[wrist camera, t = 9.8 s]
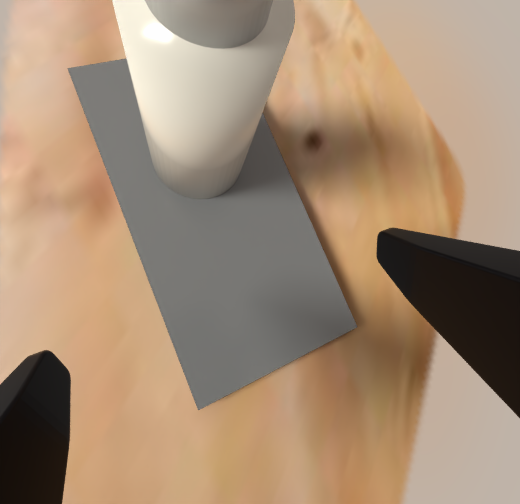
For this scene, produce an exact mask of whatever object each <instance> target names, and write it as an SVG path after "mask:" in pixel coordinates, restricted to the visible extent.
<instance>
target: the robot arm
mask: <svg viewBox="0 0 520 504" xmlns="http://www.w3.org/2000/svg"><path fill="white" fill-rule="evenodd" d="M377 259H378V262H379V263H380V265H381V266H382V267H383V269H384V270H385V271H386V273H387V274H388V275H389V276H390V278H391V279H392V280H393V282H394V283H395V284H396V286H397V287H398V288H399V289H400V291H401V292H402V293H403V295H404V296H405V297H406V298H407V299H408V301H409V302H410V303H411V304H412V305H413V306H414V307H415V309H416V310H417V311H418V312H419V313H420V314H421V315H422V316H423V317H424V318H425V319H426V320H427V321H428V322H429V323H430V324H431V325H432V326H433V327H434V329H435V330H436V331H437V332H438V333H439V334H440V335H441V336H442V337H443V338H444V339H445V340H446V341H447V342H448V343H449V344H450V345H451V346H452V347H453V348H454V350H455V351H457V353H458V354H459V355H460V356H461V357H462V358H463V359H464V360H465V361H466V362H467V363H468V364H469V365H470V366H471V367H472V368H473V370H474V371H475V372H476V373H477V374H478V375H479V376H480V377H481V378H482V379H483V380H484V381H485V382H486V383H487V384H488V385H489V386H490V387H491V388H492V389H493V391H494V392H496V394H497V395H498V396H499V397H500V398H501V399H502V400H503V401H504V402H505V403H506V404H507V405H508V406H509V407H510V408H511V409H512V410H513V412H514V413H515V414H516V415H517V416H518V417H519V418H520V251H517V250H511V249H506V248H500V247H495V246H490V245H484V244H479V243H473V242H468V241H463V240H457V239H452V238H447V237H441V236H436V235H430V234H425V233H420V232H414V231H409V230H403V229H398V228H389V229H386V230H383V231H381V232H380V233H379V234H378V237H377ZM70 389H71V378H70V373H69V371H68V369H67V368H66V367H65V366H64V365H63V364H62V362H61V361H60V360H59V359H58V358H57V357H56V356H55V355H54V354H53V353H52V352H51V351H49V350H44V351H41V352H38V353H36V354H33V355H30V356H28V357H27V358H26V359H25V360H24V361H23V362H22V363H21V364H20V365H19V366H18V367H17V368H16V369H15V370H14V371H13V372H12V373H11V374H10V375H9V376H8V377H7V378H6V379H5V380H4V381H3V382H2V383H1V385H0V504H62V499H63V491H64V483H65V475H66V467H67V459H68V451H69V441H70Z"/></svg>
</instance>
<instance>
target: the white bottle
mask: <svg viewBox="0 0 520 504" xmlns="http://www.w3.org/2000/svg"><path fill="white" fill-rule="evenodd" d="M112 1H113V6H114V10H115V14H116V18H117V22H118V26H119V30H120V34H121V38H122V42H123V46H124V50H125V54H126V58H127V62H128V66H129V70H130V74H131V78H132V82H133V86H134V90H135V94H136V98H137V102H138V106H139V110H140V114H141V118H142V122H143V126H144V130H145V135H146V139H147V143H148V147H149V151H150V155H151V159H152V163H153V166H154V169H155V171H156V173H157V175H158V177H159V178H160V180H161V181H162V182H163V183H164V184H165V185H166V186H167V187H168V188H169V189H171V190H172V191H174V192H176V193H177V194H179V195H182V196H184V197H188V198H193V199H209V198H213V197H216V196H219V195H221V194H223V193H225V192H226V191H227V190H229V189H230V188H231V187H232V186H233V185H234V183H235V182H236V180H237V179H238V177H239V174H240V172H241V169H242V166H243V164H244V161H245V158H246V156H247V153H248V150H249V147H250V145H251V142H252V139H253V137H254V134H255V131H256V129H257V126H258V123H259V121H260V118H261V115H262V113H263V110H264V107H265V105H266V102H267V99H268V96H269V94H270V91H271V88H272V86H273V83H274V80H275V78H276V75H277V72H278V70H279V67H280V64H281V62H282V59H283V56H284V54H285V51H286V48H287V45H288V43H289V40H290V37H291V35H292V32H293V28H294V23H295V9H294V2H293V0H112Z"/></svg>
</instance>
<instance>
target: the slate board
mask: <svg viewBox="0 0 520 504" xmlns="http://www.w3.org/2000/svg"><path fill="white" fill-rule="evenodd" d="M68 71H69V73H70V76H71V79H72V81H73V84H74V86H75V89H76V92H77V94H78V97H79V100H80V102H81V105H82V107H83V110H84V113H85V115H86V118H87V120H88V123H89V126H90V128H91V131H92V134H93V136H94V139H95V141H96V144H97V147H98V149H99V152H100V155H101V157H102V160H103V162H104V165H105V168H106V170H107V173H108V175H109V178H110V181H111V183H112V186H113V189H114V191H115V194H116V196H117V199H118V202H119V204H120V207H121V209H122V212H123V215H124V217H125V220H126V223H127V225H128V228H129V230H130V233H131V236H132V238H133V241H134V243H135V246H136V249H137V251H138V254H139V257H140V259H141V262H142V264H143V267H144V270H145V272H146V275H147V277H148V280H149V283H150V285H151V288H152V291H153V293H154V296H155V298H156V301H157V304H158V306H159V309H160V311H161V314H162V317H163V319H164V322H165V325H166V327H167V330H168V332H169V335H170V338H171V340H172V343H173V346H174V348H175V351H176V353H177V356H178V359H179V361H180V364H181V366H182V369H183V372H184V374H185V377H186V380H187V382H188V385H189V387H190V390H191V393H192V395H193V398H194V400H195V403H196V406H197V408H198V410H200V409H202V408H204V407H206V406H208V405H209V404H211V403H213V402H215V401H217V400H219V399H221V398H223V397H225V396H227V395H229V394H231V393H232V392H234V391H236V390H238V389H240V388H242V387H244V386H246V385H248V384H250V383H252V382H253V381H255V380H257V379H259V378H261V377H263V376H265V375H267V374H269V373H271V372H273V371H274V370H276V369H278V368H280V367H282V366H284V365H286V364H288V363H290V362H292V361H294V360H295V359H297V358H299V357H301V356H303V355H305V354H307V353H309V352H311V351H313V350H315V349H317V348H318V347H320V346H322V345H324V344H326V343H328V342H330V341H332V340H334V339H336V338H338V337H339V336H341V335H343V334H345V333H347V332H349V331H351V330H353V329H355V328H357V325H356V323H355V320H354V318H353V316H352V314H351V311H350V309H349V307H348V305H347V302H346V300H345V298H344V296H343V293H342V291H341V289H340V286H339V284H338V282H337V280H336V277H335V275H334V273H333V271H332V268H331V266H330V264H329V262H328V259H327V257H326V255H325V253H324V250H323V248H322V246H321V244H320V241H319V239H318V237H317V234H316V232H315V230H314V228H313V225H312V223H311V221H310V219H309V216H308V214H307V212H306V210H305V207H304V205H303V203H302V201H301V198H300V196H299V194H298V192H297V189H296V187H295V185H294V183H293V180H292V178H291V176H290V173H289V171H288V169H287V167H286V164H285V162H284V160H283V158H282V155H281V153H280V151H279V149H278V146H277V144H276V142H275V140H274V137H273V135H272V133H271V131H270V128H269V126H268V124H267V121H266V119H265V117H264V115H263V113H262V115H261V118H260V121H259V123H258V126H257V129H256V131H255V134H254V137H253V139H252V142H251V145H250V147H249V150H248V153H247V156H246V158H245V161H244V164H243V166H242V169H241V172H240V174H239V177H238V179H237V180H236V182H235V183H234V185H233V186H232V187H231V188H230V189H229V190H227V191H226V192H225V193H223V194H221V195H219V196H216V197H213V198H209V199H193V198H188V197H184V196H182V195H179V194H177V193H176V192H174V191H172V190H171V189H169V188H168V187H167V186H166V185H165V184H164V183H163V182H162V181H161V180H160V178H159V177H158V175H157V173H156V171H155V169H154V166H153V163H152V159H151V155H150V151H149V147H148V143H147V139H146V135H145V130H144V126H143V122H142V118H141V114H140V110H139V106H138V102H137V98H136V94H135V90H134V86H133V82H132V78H131V74H130V70H129V66H128V62H127V59H121V60H115V61H109V62H103V63H97V64H91V65H85V66H79V67H73V68H68Z"/></svg>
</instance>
